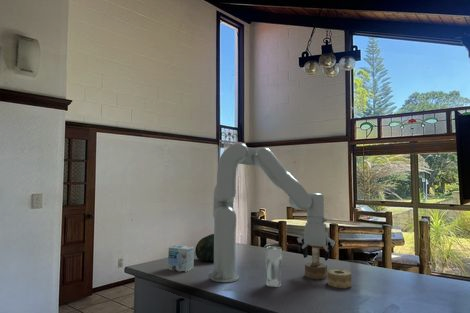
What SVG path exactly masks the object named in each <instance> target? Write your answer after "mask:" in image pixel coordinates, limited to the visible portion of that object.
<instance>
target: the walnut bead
mask: <svg viewBox="0 0 470 313" xmlns="http://www.w3.org/2000/svg"><path fill="white" fill-rule="evenodd" d="M304 276H305V277H306V278H308V279H312V280H324V279H326V278H328V265H327V264H325V263H322V262H319V266H312V262H307V263H305V264H304Z"/></svg>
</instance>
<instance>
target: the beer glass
mask: <svg viewBox="0 0 470 313" xmlns="http://www.w3.org/2000/svg"><path fill="white" fill-rule="evenodd" d="M264 260H265V269H266V276H267V278H266V282H265V283H266V286H267V287H269V288H270V287H271V288H279V287H281V286H282V283H281V271H282V270H281V269H282V265H283V251H282V247H280V246H275V245H274V246H266V247H265V253H264Z"/></svg>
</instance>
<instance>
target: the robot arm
mask: <svg viewBox="0 0 470 313" xmlns="http://www.w3.org/2000/svg"><path fill="white" fill-rule="evenodd" d="M239 164H241V165H244V166H245V165H246V166H253V167H259V168H260V169H261V170H262V171H263V172H264V173H265V175H266V176H267V177H268V179H269V180H270V181H271V182H272V184H273V185H275V186H276V187H278V188H279V189H281V190H282V191H283V192H284V193H285V194H286V195H287V196H288V197H289V198H288V204H289V205H290V206H291V207H292V208H293V209H295V210H300V211H306V223H305V225H304V232H303V233H304V234H303V235H301V236H300V237H297V238H296V240H297V242H298V245H299V246H300V247H301V250H302V256H303V258H304V259H305V258H308V246H311V247H312V246H319V247H323V249H324V250H325V251H324V260H325V261H328V260H329V259H330V251H331V250H332V249H333V248H334V245H335V244H336V241H335V240H333V239H331V237H329V236H328V234H329V233H328V228H327V227H328V226H327V224H326V222H328V218H325V207H324V206H325V203H324V202H325V197H324V194H322V193H319V192H308V191H307V190H306V189H305V187H303V185H302V184H301V182H299V180H297V179H296V178H295V177H294V175H292V174H291V172H289V171H288V170H287V169H286V168H285V166H284V165H283V164H282V162H281V161H280V160H279V159H278V158H277V155H275V153H273V151H272V150H271V149H270V148H268V147H265V146H264V147H260V148H254V147H248V146H247V145H246V144H245V143H242V142H236V143H233V144H231V145H230V146H228V147H227V148H226V149H224V150H223V152H222V153H221V155H220V157H219V160H218V163H217V173H216V185H215V186H214V190H213V210H212V214H213V215H212V216H213V219H214V224H213V225H214V226H213V227H214V228H213V229H214V230H213V234H214V261H213V269H212V272H211V273H209V274H208V276H207V277H208V279H209V280H211V281H213V282H217V283H232V282H233V283H234V282H236V281H238V280H240V279H239V278H240V276H239V274H237V273H236V256H237V255H236V254H237V253H236V246H237V245H236V240H237V239H236V234H237V231H236V230H237V214H236V211H235V209H234V205H235V204H234V202H235V198H236V195H237V189H236V188H237V184H236V183H237V168H238V166H239ZM302 240H303V241H302ZM329 243H330V245H328V244H329Z"/></svg>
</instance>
